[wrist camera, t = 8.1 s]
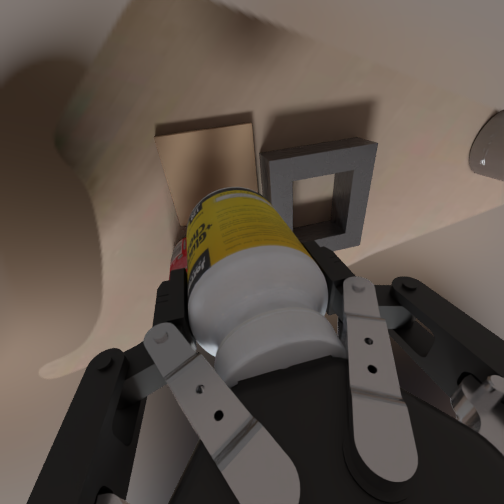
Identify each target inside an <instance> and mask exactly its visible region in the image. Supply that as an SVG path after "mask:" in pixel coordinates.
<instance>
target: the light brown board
mask: <svg viewBox="0 0 504 504" xmlns="http://www.w3.org/2000/svg"><path fill="white" fill-rule="evenodd" d="M154 140H155V143H156V147H157V150H158V153H159V157H160V160H161V163H162V166H163V170H164V173H165V176H166V180H167V183H168V186H169V189H170V193H171V196H172V199H173V203H174V206H175V209H176V213H177V216H178V219H179V222H180V226H185V225H187V223H188V220H189V217H190V214H191V213H192V211H193V209H194V208H195V206H196V205H197V204H198V203H199V202H200V201H201V200H202V199H203V198H204V197H205V196H207V195H208V194H210V193H212V192H214V191H216V190H219V189H223V188H227V187H243V188H247V189H251V190H253V191H255V192H257V193H258V187H257V176H256V165H255V154H254V143H253V132H252V123H250V122H248V123H241V124H235V125H228V126H221V127H214V128H207V129H200V130H193V131H186V132H179V133H173V134H166V135H159V136H154Z"/></svg>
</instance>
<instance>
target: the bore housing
mask: <svg viewBox="0 0 504 504" xmlns="http://www.w3.org/2000/svg"><path fill="white" fill-rule="evenodd" d="M377 146H378V143H376V142H373V141H369V140H365V139H361V138H358V137H356V138H350V139H343V140H337V141H331V142H325V143H319V144H313V145H307V146H301V147H294V148H288V149H282V150H276V151H270V152H264V153H259V156H260V168H261V181H262V193H263V196H264V197H265V198H266V199H267V200H268V201H269V202H270V203H271V205H272V206H273V207H274V209H275V210H276V211H277V212H278V214H279V215H280V216H281V218H282V219H283V220H284V221H285V223H286V224H287V225H288V227H289V228H290V229H291V231H292V232H293V233H294V235H295V236H296V237H297V239H298V240H299V241H300V243H301V242H305V241H310V240H314V241H315V242H316V243H317V244H318V245H319V246H320V247H323V246H324V247H326V248H328V249H330V250H332V251H336V250H341V249H345V248H350V247H354V246H358V245H360V241H361V235H362V229H363V224H364V218H365V213H366V207H367V202H368V196H369V191H370V185H371V179H372V174H373V168H374V163H375V157H376V152H377ZM334 173H335V179H334V190H333V201H332V212H331V221H326V222H321V223H316V224H312V225H307V226H302V227H297V228H293V192H292V181H296V180H301V179H307V178H312V177H318V176H323V175H329V174H334Z"/></svg>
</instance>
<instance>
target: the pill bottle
mask: <svg viewBox="0 0 504 504" xmlns="http://www.w3.org/2000/svg"><path fill="white" fill-rule="evenodd" d="M186 236H187V281H188V319H189V325H190V328H191V331H192V333H193V335H194V337H195V339H196V340H197V342H198V343H199V344H200V345H201V346H202V347H203V348H204V349H205V350H206V351H207V352H208V353H210V354H211V355H213V356H215V364H214V368H215V371H216V373H217V374H218V375H219V376H220V377H221V379H222V380H223V381H224V382H225V384H226V385H227V386H228V387H229V388H230V389H231V388H232V387H233V386H235V385H237V384H238V381H240V380H244V379H247V378H250V377H254V376H257V375H261V374H264V373H268V372H271V371H275V370H278V369H286V368H288V367H290V366H292V365H296V364H300V363H303V362H307V361H310V360H314V359H317V358H321V357H325V356H328V355H331V356H332V357H339V358H345V359H346V350H345V348H344V346H343V344H342V343H341V341H340V339H339V338H338V336H337V334H336V332H335V331H334V329H333V327H332V325H331V324H330V323H329V322H328V320H327V319H326V318H325V317H324V315H325V312H326V309H327V304H328V288H327V283H326V280H325V277H324V275H323V273H322V272H321V270H320V268H319V267H318V265H317V264H316V262H315V261H314V260H313V258H312V257H311V256H310V254H309V253H308V252H307V251H306V249H305V248H304V247H303V245H302V244H301V243H300V241H299V240H298V239H297V237H296V236H295V235H294V233H293V232H292V231H291V229H290V228H289V227H288V225H287V224H286V223H285V221H284V220H283V219H282V218H281V216H280V215H279V214H278V212H277V211H276V210H275V209H274V207H273V206H272V205H271V203H270V202H269V201H268V200H267V199H266V198H265V197H264V196H262V195H261V194H259V193H257V192H255V191H253V190H251V189H247V188H243V187H227V188H223V189H219V190H216V191H214V192H212V193H210V194H208V195H207V196H205V197H204V198H203V199H202V200H201V201H200V202H199V203H198V204H197V205H196V206H195V208H194V209H193V211H192V213H191V214H190V217H189V220H188V223H187V233H186Z"/></svg>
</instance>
